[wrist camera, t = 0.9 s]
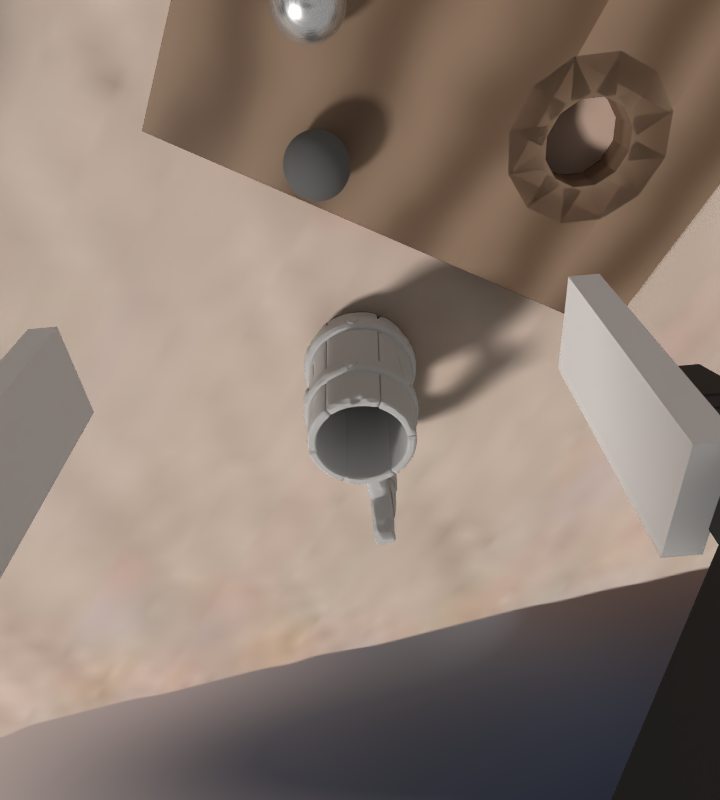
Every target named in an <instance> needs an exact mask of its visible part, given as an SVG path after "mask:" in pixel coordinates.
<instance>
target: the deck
mask: <svg viewBox="0 0 720 800" xmlns="http://www.w3.org/2000/svg"><path fill="white" fill-rule="evenodd" d="M603 96H604V97H606V98H607V99H608V101H609V103H610V105H611V107H612V110H613V112H614V114H615V116H616V122H615V130H614V138H613V141H612V143H611V145H610V146H609V148H608V149H607V151H606V152H605V154H604V156H603V157H602V159H601V160H600V161H599V162H597V163H596V164H594V165H593V166H591V167H590V168H588V169H587V170H585V171H583V172H582V173H576V174H567V175H559V174H557V173H555V172H553V171H551V170H550V168H549V166H548V164H547V162H546V145H547V136H548V134H549V132H550V131H551V129H552V127H553V125H554V124H555V122H556V120H557V118H558V117H559V115H560V114H561V113H562V112H564V111H565V110H567V109H568V108H569V107H571V106H572V105H574V104H575V103H577V102H578V101H579V100H581V99H586V98H594V97H603ZM311 129H321V130H326V131H328V132H330V133H332V134H334V135H335V136H337V137H338V138H339V139H340V140H341V141H342V142H343V144H344V145H345V147H346V148H347V151H348V153H349V156H350V161H351V171H350V176H349V179H348V182H347V184H346V186H345V187H344V188H343V190H342V191H341V192H340V193H339V194H338V195H336V196H335V197H333V198H331V199H329V200H326V201H318V202H317V201H310V200H307V199H304V198H302V197H300V196H299V195H297V194H296V193H295V192H294V191H293V190H292V189H291V187H290V186H289V184H288V182H287V180H286V178H285V175H284V171H283V158H284V154H285V151H286V148H287V146H288V145H289V143H290V142H291V141H292V139H293V138H295V137H296V136H297V135H298V134H300V133H302V132H304V131H307V130H311ZM142 131H143V132H145V133H147V134H150V135H152V136H154V137H157V138H159V139H161V140H164V141H166V142H168V143H171V144H173V145H175V146H178V147H180V148H182V149H184V150H187V151H189V152H191V153H194V154H196V155H198V156H201V157H203V158H205V159H208V160H210V161H212V162H215V163H217V164H219V165H222V166H224V167H226V168H228V169H231V170H233V171H235V172H238V173H240V174H242V175H245V176H247V177H249V178H252V179H254V180H256V181H259V182H261V183H263V184H266V185H268V186H270V187H272V188H275V189H277V190H279V191H282V192H284V193H286V194H289V195H291V196H293V197H296V198H298V199H300V200H303V201H305V202H307V203H310V204H312V205H314V206H316V207H319V208H321V209H323V210H326V211H328V212H330V213H333V214H335V215H337V216H340V217H342V218H344V219H347V220H349V221H351V222H354V223H356V224H358V225H360V226H363V227H365V228H367V229H370V230H372V231H374V232H377V233H379V234H381V235H384V236H386V237H388V238H391V239H393V240H395V241H398V242H400V243H402V244H404V245H407V246H409V247H411V248H414V249H416V250H418V251H421V252H423V253H425V254H428V255H430V256H432V257H435V258H437V259H439V260H442V261H444V262H446V263H448V264H451V265H453V266H455V267H458V268H460V269H462V270H465V271H467V272H469V273H472V274H474V275H476V276H479V277H481V278H483V279H486V280H488V281H490V282H492V283H495V284H497V285H499V286H502V287H504V288H506V289H509V290H511V291H513V292H516V293H518V294H520V295H523V296H525V297H527V298H529V299H532V300H534V301H536V302H539V303H541V304H543V305H546V306H548V307H550V308H553V309H555V310H557V311H560V312H562V313H564V312H565V303H566V294H567V285H568V277H569V276H579V275H590V274H600V275H601V276H602V277H603V279H604V280H605V281H606V282H607V283H608V284H609V286H610V287H611V288H612V289H613V290H614V292H615V293H616V294H617V295H618V296H619V297H620V299H621V300H622V301H623V302H624V303H625V304H626V306H627V305H628V304H629V302H630V301H631V300H632V298H633V297H634V296H635V294H636V293H637V292H638V291H639V289H640V288H641V287H642V285H643V284H644V283H645V281H646V280H647V279H648V277H649V276H650V275H651V273H652V272H653V271H654V269H655V268H656V267H657V266H658V264H659V263H660V262H661V260H662V259H663V258H664V256H665V255H666V254H667V252H668V251H669V250H670V248H671V247H672V246H673V244H674V243H675V242H676V241H677V239H678V238H679V237H680V235H681V234H682V233H683V231H684V230H685V229H686V227H687V226H688V225H689V223H690V222H691V221H692V220H693V218H694V217H695V216H696V214H697V213H698V212H699V210H700V209H701V208H702V206H703V205H704V204H705V202H706V201H707V200H708V198H709V197H710V196H711V195H712V193H713V192H714V191H715V189H716V188H717V187H718V185H719V184H720V0H347V9H346V14H345V17H344V20H343V22H342V25H341V26H340V28H339V30H338V31H337V32H336V34H334V35H333V36H332V37H331V38H330V39H329V40H327V41H325V42H323V43H321V44H318V45H310V46H308V45H302V44H298V43H296V42H294V41H292V40H290V39H289V38H288V37H286V36H285V35H284V34H283V33H282V32H281V31H280V29H279V28H278V26H277V25H276V23H275V21H274V19H273V17H272V14H271V10H270V5H269V0H171V3H170V7H169V12H168V16H167V21H166V25H165V30H164V34H163V39H162V43H161V48H160V52H159V57H158V61H157V66H156V70H155V75H154V79H153V84H152V88H151V93H150V97H149V102H148V106H147V111H146V115H145V120H144V124H143V128H142Z"/></svg>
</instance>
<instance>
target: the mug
mask: <svg viewBox="0 0 720 800" xmlns="http://www.w3.org/2000/svg"><path fill="white" fill-rule="evenodd" d="M304 373H305V379H306V383H307V385H308V389H307V390H306V391H305V394H304V420H305V423H306V426H307V444H308V446H309V454H310V456H311V458H312V460H313V461H314V463H315V464H316V465H317V466H318V467H319V468H320V469H321V470H322V471H323V472H325V473H326V474H327V475H329V476H331V477H333V478H335V479H338V480H341V481H342V480H343V479H344V478H345V481H346V482H349V483H353V484H366V486H367V490H368V493H369V496H370V500H371V509H372V519H373V528H374V535H375V539H376V542H377V544H378V545H383V544H387V543H392V542H394V541H395V532H394V517H395V511H396V491H397V477H396V474H397V473H399V471H400V470H402V469H403V468H404V467H405V466H406V465H407V463H408V462H409V461H410V460H411V458H412V457H413V455H414V452H415V449H416V444H417V435H416V426H417V420H418V415H419V407H418V400H417V395H416V392H415V390H414V388H413V383H414V380H415V376H416V359H415V355H414V351H413V348H412V346H411V344H410V342H409V341H408V339H407V338H406V336H405V335H404V334H403V333H402V332H401V330H400V329H399V328H398V327H397V326H396V325H395V324H394V323H393V322H391V321H390V320H388V319H386V318H384V317H380V318H378V319H377V315H376V314H373V313H368V312H357V313H347V314H344V315H341V316H338V317H336V318H334V319H332V320H331V321H329V322H328V325H327V324H325V325H324V326H323V327H322V328H321V330H320V331H319V332H318V334H317V335H316V336H315V337H314V339H313V340H312V342H311V343H310V345H309V347H308V349H307V351H306V355H305V363H304Z"/></svg>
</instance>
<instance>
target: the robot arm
mask: <svg viewBox="0 0 720 800" xmlns="http://www.w3.org/2000/svg"><path fill="white" fill-rule="evenodd" d="M558 370H559V371H560V373H561V375H562V377H563V379H564V381H565V382H566V384H567V386H568V388H569V390H570V392H571V393H572V395H573V397H574V399H575V401H576V403H577V404H578V406H579V408H580V410H581V412H582V414H583V415H584V417H585V419H586V421H587V423H588V425H589V426H590V428H591V430H592V432H593V434H594V436H595V437H596V439H597V441H598V443H599V445H600V447H601V448H602V450H603V452H604V454H605V456H606V458H607V459H608V461H609V463H610V465H611V467H612V469H613V471H614V472H615V474H616V476H617V478H618V480H619V482H620V483H621V485H622V487H623V489H624V491H625V493H626V494H627V496H628V498H629V500H630V502H631V504H632V505H633V507H634V509H635V511H636V513H637V515H638V516H639V518H640V520H641V522H642V524H643V526H644V527H645V529H646V531H647V533H648V535H649V537H650V538H651V540H652V542H653V544H654V546H655V548H656V549H657V551H658V553H659V555H660V557H661V558H663V557H675V556H687V555H700V554H703V551H704V548H705V545H706V542H707V539H708V536H709V533H710V532H711V534H712V535H713V537H714V538H715V540H716V541H717V543H718V544H719V546H718V548H717V550H716V553H715V555H714V558H713V560H712V562H711V565H710V567H709V569H708V572H707V574H706V576H705V579H704V581H703V584H702V586H701V588H700V591H699V593H698V596H697V598H696V600H695V603H694V605H693V607H692V610H691V612H690V614H689V617H688V620H687V622H686V624H685V626H684V629H683V631H682V633H681V636H680V638H679V641H678V643H677V646H676V648H675V650H674V652H673V655H672V657H671V660H670V662H669V664H668V667H667V669H666V672H665V674H664V676H663V679H662V681H661V683H660V686H659V688H658V691H657V693H656V695H655V698H654V700H653V702H652V705H651V707H650V710H649V712H648V714H647V717H646V719H645V721H644V724H643V726H642V729H641V731H640V733H639V736H638V738H637V741H636V743H635V745H634V747H633V750H632V752H631V755H630V757H629V759H628V762H627V764H626V766H625V769H624V771H623V773H622V776H621V778H620V781H619V783H618V786H617V788H616V790H615V793H614V795H613V797H612V800H720V376H719V375H718V374H716V373H714V372H712V371H710V370H709V369H707V368H705V367H703V366H701V365H700V364H695V365H684V366H678V365H677V364H676V363H675V362H674V361H673V360H672V358H671V357H670V356H669V355H668V354H667V353H666V351H665V350H664V349H663V348H662V347H661V345H660V344H659V343H658V342H657V341H656V340H655V338H654V337H653V336H652V335H651V334H650V333H649V331H648V330H647V329H646V328H645V327H644V326H643V324H642V323H641V322H640V321H639V320H638V318H637V317H636V316H635V315H634V314H633V313H632V311H631V310H630V309H629V308H628V307H627V306H626V304H625V303H624V302H623V301H622V300H621V299H620V297H619V296H618V295H617V294H616V293H615V292H614V290H613V289H612V288H611V287H610V286H609V284H608V283H607V282H606V281H605V280H604V279H603V277H602V276H601V275H600V274H590V275H579V276H569V277H568V285H567V294H566V303H565V312H564V321H563V330H562V340H561V349H560V358H559V367H558ZM93 413H94V411H93V409H92V407H91V404H90V402H89V400H88V398H87V395H86V393H85V391H84V388H83V386H82V384H81V381H80V379H79V377H78V374H77V372H76V370H75V367H74V365H73V363H72V360H71V358H70V356H69V354H68V351H67V349H66V347H65V344H64V342H63V340H62V337H61V335H60V333H59V330H58V328H57V327H48V328H38V329H28V330H27V331H26V332H25V333H24V335H23V336H22V337H21V338H20V339H19V340H18V341H17V343H16V344H15V345H14V346H13V347H12V348H11V349H10V351H9V352H8V353H7V354H6V355H5V356H4V357H3V359H2V360H1V361H0V578H1V576H2V574H3V573H4V571H5V569H6V567H7V566H8V564H9V562H10V560H11V558H12V557H13V555H14V553H15V551H16V550H17V548H18V546H19V544H20V542H21V541H22V539H23V537H24V535H25V534H26V532H27V530H28V528H29V526H30V525H31V523H32V521H33V519H34V518H35V516H36V514H37V512H38V510H39V509H40V507H41V505H42V503H43V502H44V500H45V498H46V496H47V494H48V493H49V491H50V489H51V487H52V486H53V484H54V482H55V480H56V478H57V477H58V475H59V473H60V471H61V470H62V468H63V466H64V464H65V462H66V461H67V459H68V457H69V455H70V454H71V452H72V450H73V448H74V446H75V445H76V443H77V441H78V439H79V438H80V436H81V434H82V432H83V430H84V429H85V427H86V425H87V423H88V422H89V420H90V418H91V416H92V414H93Z"/></svg>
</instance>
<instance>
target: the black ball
mask: <svg viewBox="0 0 720 800" xmlns="http://www.w3.org/2000/svg"><path fill="white" fill-rule="evenodd" d="M283 171H284V175H285V178H286V180H287V182H288V184H289V186H290V187H291V189H292V190H293V191H294V192H295V193H296V194H297V195H299V196H300V197H302V198H304V199H307V200H310V201H317V202H318V201H326V200H329V199H331V198H333V197H335V196H336V195H338V194H339V193H340V192H341V191H342V190H343V188H344V187H345V186H346V184H347V182H348V179H349V176H350V171H351V161H350V156H349V153H348V151H347V148H346V147H345V145H344V144H343V142H342V141H341V140H340V139H339V138H338V137H337V136H335V135H334V134H332V133H330V132H328V131H326V130H321V129H311V130H307V131H304V132H302V133H300V134H298V135H297V136H296V137H295V138H293V139H292V141H291V142H290V143H289V145H288V146H287V148H286V151H285V154H284V158H283Z"/></svg>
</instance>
